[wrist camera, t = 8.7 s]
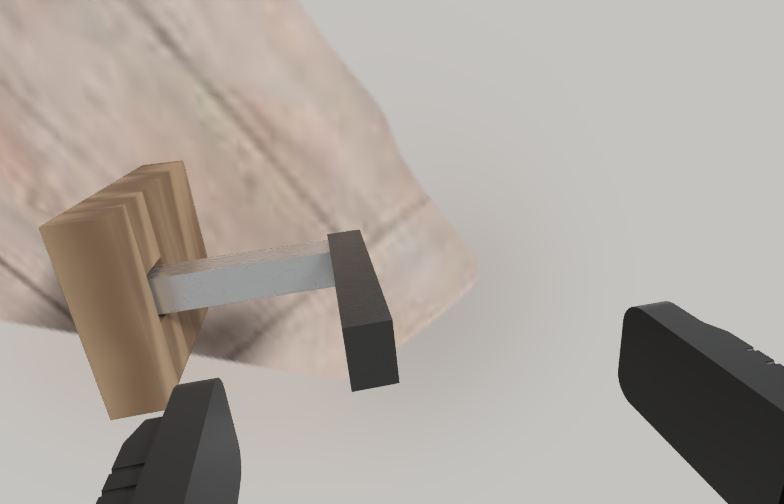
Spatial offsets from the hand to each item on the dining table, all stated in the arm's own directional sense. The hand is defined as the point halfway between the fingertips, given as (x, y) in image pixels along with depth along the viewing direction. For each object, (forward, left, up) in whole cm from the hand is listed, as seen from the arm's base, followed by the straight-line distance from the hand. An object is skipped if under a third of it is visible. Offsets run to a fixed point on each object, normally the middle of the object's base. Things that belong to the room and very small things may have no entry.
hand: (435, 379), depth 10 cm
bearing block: (-3, -14, -32) cm, 35 cm away
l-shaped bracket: (+1, -8, -21) cm, 23 cm away
